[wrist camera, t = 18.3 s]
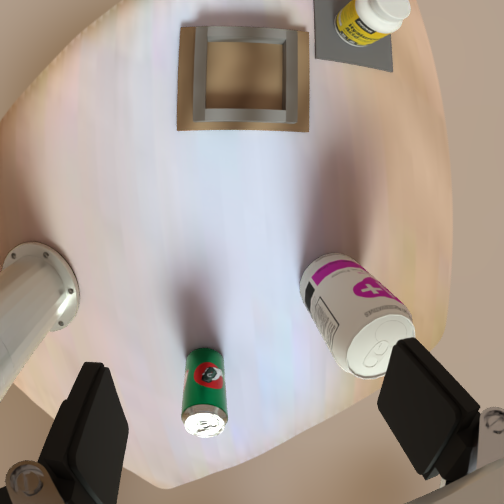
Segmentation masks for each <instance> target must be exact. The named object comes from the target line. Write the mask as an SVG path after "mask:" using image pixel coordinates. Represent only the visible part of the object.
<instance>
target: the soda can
mask: <svg viewBox="0 0 504 504" xmlns="http://www.w3.org/2000/svg"><path fill="white" fill-rule="evenodd" d="M181 419H182V421H183V423H184V425H185V428H186V430H187V431H188V432H189V433H191V434H193V435H195V436H199V437H213V436H216V435H218V434H220V433H221V432H222V431H223V430H224V427H225V425H226V423H227V421H228V413H227V400H226V386H225V371H224V360H223V358H222V356H221V355H220V354H219V353H218V352H217V351H215V350H213V349H209V348H199V349H196V350H194V351H192V352H191V353H190V354H189V355H188V357H187V359H186V368H185V378H184V389H183V401H182V414H181Z"/></svg>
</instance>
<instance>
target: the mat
mask: <svg viewBox="0 0 504 504" xmlns="http://www.w3.org/2000/svg"><path fill="white" fill-rule="evenodd" d="M351 1H352V0H314V24H315V59H322V60H330V61H336V62H342V63H348V64H354V65H359V66H365V67H370V68H374V69H379V70H384V71H388V72H393V62H392V45H391V34H389V35H387V36H385V37H383V38H381V39H379V40H377V41H375V42H373V43H372V44H370V45H367V46H364V47H356V46H353V45H350V44H348V43H346V42H345V41H344V40H343V39H341V37H340V36H339V35H338V33H337V32H336V29H335V25H334V20H335V17H336V15H337V14H338V13H339V11H341V10H342V9H343V8H344V7H345V6H346V5H347V4H348V3H349V2H351Z"/></svg>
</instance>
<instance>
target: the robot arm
mask: <svg viewBox="0 0 504 504" xmlns="http://www.w3.org/2000/svg"><path fill="white" fill-rule="evenodd" d="M78 307H79V288H78V284H77V281H76V278H75V276H74V274H73V272H72V269H71V268H70V266H69V265H68V263H67V262H66V261H65V260H64V259H63V257H62V256H61V255H60V254H59V253H57V252H56V251H55V250H54V249H52V248H50V247H49V246H47V245H45V244H42V243H38V242H26V243H22V244H20V245H18V246H17V247H15V248H14V249H12V250H11V251H10V252H9V254H8V255H7V257H6V259H5V260H4V264H3V267H2V271H1V272H0V402H1V400H2V399H3V397H4V395H5V394H6V392H7V391H8V389H9V387H10V386H11V385H12V383H13V382H14V380H15V379H16V377H17V376H18V374H19V373H20V371H21V370H22V368H23V367H24V365H25V364H26V363H27V361H28V360H29V358H30V357H31V355H32V354H33V353H34V351H35V350H36V349H37V347H38V346H39V344H40V343H41V342H42V340H43V339H44V338H45V336H46V335H47V334H48V332H54V331H58V330H61V329H63V328H65V327H67V326H68V325H69V324H70V323H71V321H72V320H73V319H74V317H75V315H76V313H77V311H78ZM377 405H378V409H379V411H380V412H381V414H382V416H383V417H384V419H385V420H386V422H387V424H388V425H389V427H390V429H391V430H392V432H393V434H394V435H395V437H396V438H397V440H398V442H399V443H400V445H401V447H402V448H403V450H404V452H405V453H406V455H407V456H408V458H409V460H410V462H411V463H412V465H413V467H414V468H415V470H416V471H417V473H418V474H420V475H423V477H424V479H425V480H428V479H430V478H433V477H435V476H437V475H438V474H440V475H441V477H442V480H441V485H440V488H439V489H437V490H435V491H433V492H431V493H429V494H426V495H424V496H422V497H419V498H417V499H415V500H412V501H410V502H407V503H405V504H504V409H502V408H499V407H490V408H487V409H485V410H484V411H483V412H482V413H481V414H480V413H479V412H478V410H479V408H480V405H479V404H478V403H477V402H476V401H475V400H474V399H473V398H472V397H471V396H470V395H469V393H468V392H467V391H466V390H465V389H464V388H463V387H462V386H461V385H460V384H459V383H458V382H457V381H456V380H455V379H454V377H453V376H452V375H451V374H450V373H449V372H448V371H447V370H446V369H445V368H444V367H443V366H442V365H441V364H440V363H439V362H438V361H437V360H436V359H435V358H434V357H433V356H432V355H431V354H430V352H429V351H428V350H427V349H426V348H425V347H424V346H423V345H422V344H421V343H420V342H419V341H418V340H417V339H416V338H414V337H410V338H405V339H400V340H398V341H397V343H396V345H394V346H393V348H392V352H391V356H390V359H389V363H388V367H387V370H386V374H385V377H384V381H383V384H382V388H381V391H380V394H379V397H378V401H377ZM128 433H129V428H128V423H127V420H126V418H125V415H124V412H123V409H122V406H121V404H120V401H119V398H118V395H117V392H116V389H115V386H114V382H113V379H112V376H111V373H110V370H109V368H108V367H104V365H103V363H98V362H85V363H84V364H83V366H82V368H81V370H80V372H79V374H78V377H77V379H76V381H75V383H74V385H73V387H72V390H71V392H70V394H69V396H68V398H67V400H64V401H63V402H62V404H61V406H60V408H59V411H58V413H57V415H56V417H55V420H54V422H53V424H52V427H51V429H50V432H49V434H48V436H47V439H46V441H45V444H44V446H43V449H42V452H41V454H40V457H39V459H38V462H35V461H29V460H25V461H21V462H18V463H16V464H14V465H13V466H12V467H11V468H10V469H9V470H8V472H7V474H6V479H5V482H6V486H5V487H3V488H0V504H116V503H117V495H118V490H119V483H120V477H121V471H122V466H123V460H124V454H125V449H126V444H127V438H128Z"/></svg>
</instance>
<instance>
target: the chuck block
mask: <svg viewBox="0 0 504 504" xmlns="http://www.w3.org/2000/svg"><path fill="white" fill-rule="evenodd" d="M190 130H268V131H291V132H309V32H303V31H297V30H287V29H276V28H263V27H242V26H197V27H181V30H180V46H179V66H178V94H177V131H190Z"/></svg>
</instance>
